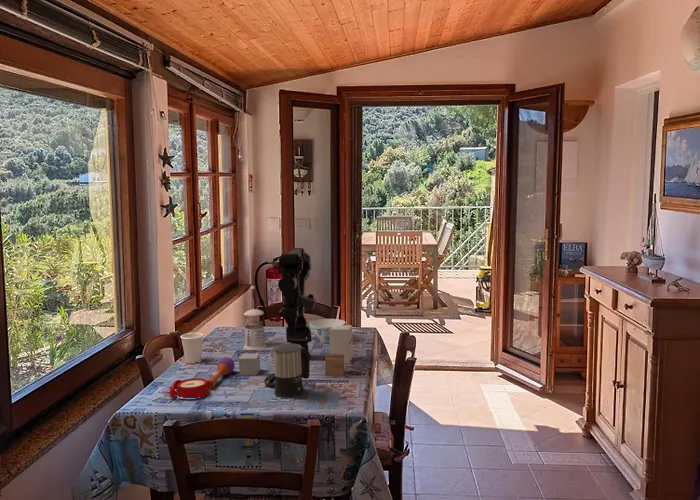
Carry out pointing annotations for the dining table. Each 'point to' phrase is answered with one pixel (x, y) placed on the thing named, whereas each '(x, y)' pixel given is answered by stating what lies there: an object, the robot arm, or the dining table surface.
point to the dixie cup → (192, 346)
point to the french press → (254, 330)
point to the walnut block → (334, 365)
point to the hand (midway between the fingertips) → (292, 332)
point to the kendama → (221, 370)
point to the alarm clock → (189, 388)
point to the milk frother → (289, 370)
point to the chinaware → (324, 328)
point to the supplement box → (342, 341)
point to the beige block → (249, 364)
